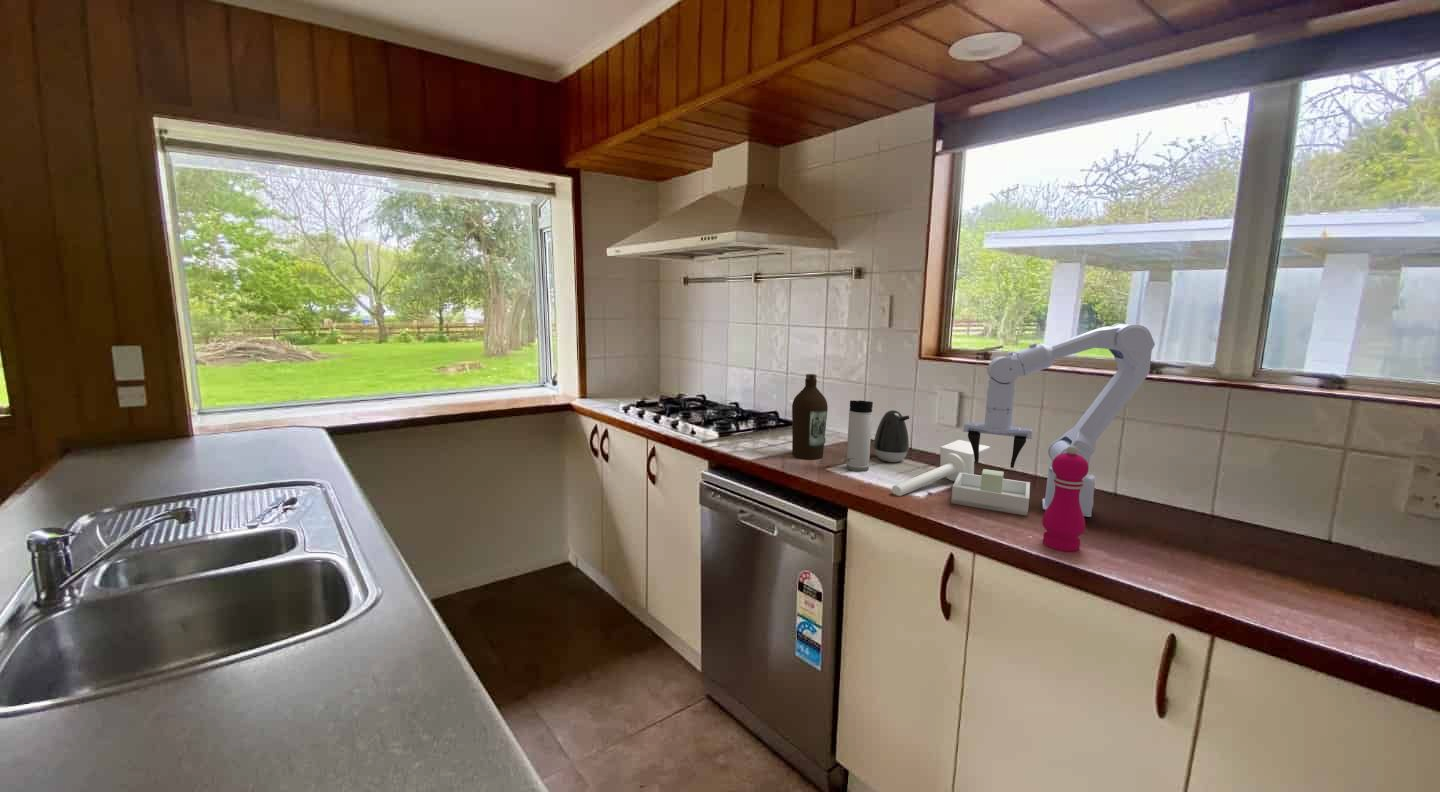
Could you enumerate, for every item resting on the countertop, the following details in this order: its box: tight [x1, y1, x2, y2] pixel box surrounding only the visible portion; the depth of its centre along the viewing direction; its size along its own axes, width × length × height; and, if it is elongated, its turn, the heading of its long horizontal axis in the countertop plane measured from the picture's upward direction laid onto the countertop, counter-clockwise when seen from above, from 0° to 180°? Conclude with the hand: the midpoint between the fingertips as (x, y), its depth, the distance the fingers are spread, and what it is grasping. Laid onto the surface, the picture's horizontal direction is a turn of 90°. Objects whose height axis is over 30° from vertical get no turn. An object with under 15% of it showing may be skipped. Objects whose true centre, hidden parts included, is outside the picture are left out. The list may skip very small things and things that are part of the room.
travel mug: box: [845, 399, 874, 473], centre depth 163 cm, size 6×7×20 cm
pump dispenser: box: [873, 409, 910, 463], centre depth 173 cm, size 10×10×15 cm
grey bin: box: [950, 472, 1031, 517], centre depth 139 cm, size 16×14×4 cm
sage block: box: [980, 468, 1005, 493], centre depth 139 cm, size 4×4×6 cm
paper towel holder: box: [891, 439, 991, 497], centre depth 150 cm, size 9×9×32 cm
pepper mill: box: [1041, 446, 1090, 553], centre depth 112 cm, size 7×7×20 cm
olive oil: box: [791, 373, 829, 460], centre depth 176 cm, size 11×11×25 cm
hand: (994, 464), depth 138 cm, fingers open, 7 cm apart
